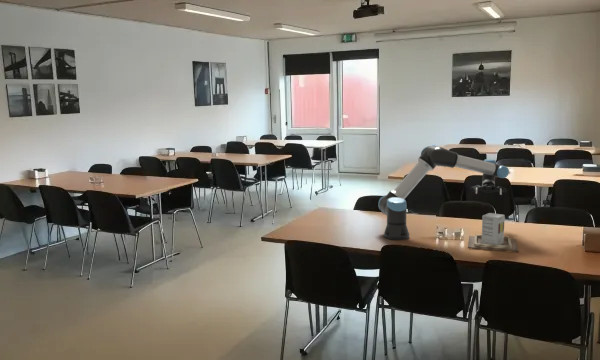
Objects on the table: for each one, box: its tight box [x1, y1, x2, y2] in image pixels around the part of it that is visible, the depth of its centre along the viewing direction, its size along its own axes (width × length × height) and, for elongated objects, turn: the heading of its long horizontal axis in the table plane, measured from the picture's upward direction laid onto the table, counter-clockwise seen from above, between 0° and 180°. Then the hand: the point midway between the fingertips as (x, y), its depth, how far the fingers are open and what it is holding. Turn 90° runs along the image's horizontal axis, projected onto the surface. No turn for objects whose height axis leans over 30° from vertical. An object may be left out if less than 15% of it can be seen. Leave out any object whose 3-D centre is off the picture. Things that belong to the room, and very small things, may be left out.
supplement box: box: [481, 212, 506, 245], centre depth 287 cm, size 10×9×17 cm
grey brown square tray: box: [467, 234, 519, 253], centre depth 291 cm, size 26×24×2 cm
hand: (488, 192), depth 301 cm, fingers open, 13 cm apart
